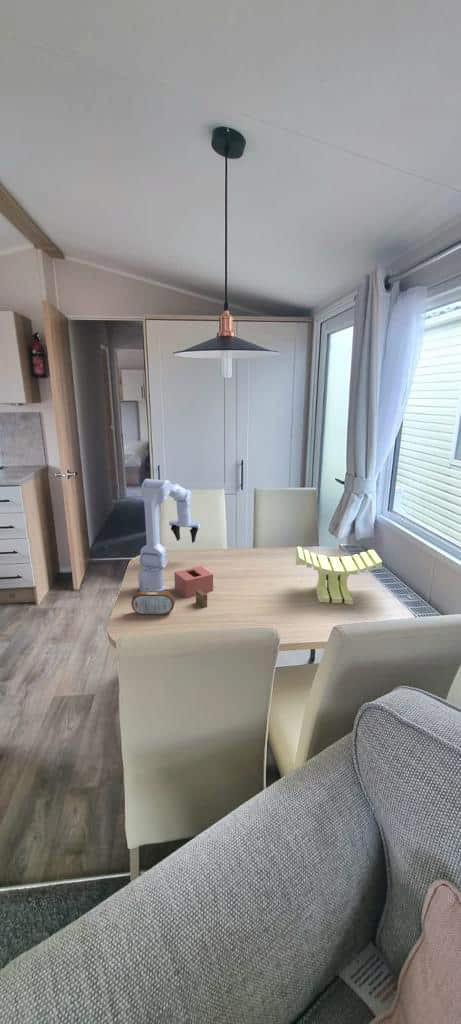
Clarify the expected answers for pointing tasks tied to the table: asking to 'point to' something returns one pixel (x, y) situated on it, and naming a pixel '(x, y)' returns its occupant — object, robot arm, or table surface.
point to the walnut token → (201, 598)
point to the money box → (193, 581)
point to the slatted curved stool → (336, 572)
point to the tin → (153, 602)
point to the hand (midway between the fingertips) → (186, 540)
